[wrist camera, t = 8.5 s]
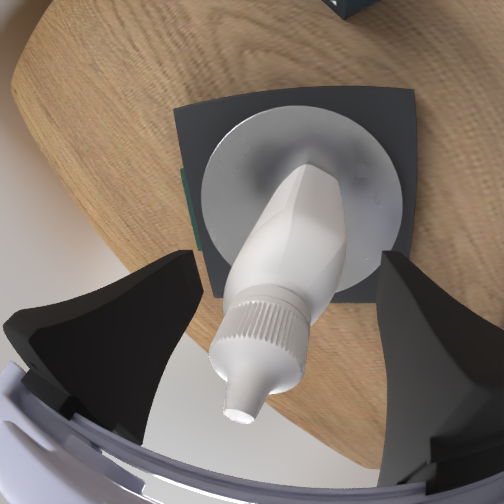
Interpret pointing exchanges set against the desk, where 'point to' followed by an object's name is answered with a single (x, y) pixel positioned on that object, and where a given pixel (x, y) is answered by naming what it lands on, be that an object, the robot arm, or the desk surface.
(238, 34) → the desk surface
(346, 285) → the scale pan
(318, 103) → the scale
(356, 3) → the watch
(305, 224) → the eye dropper bottle
